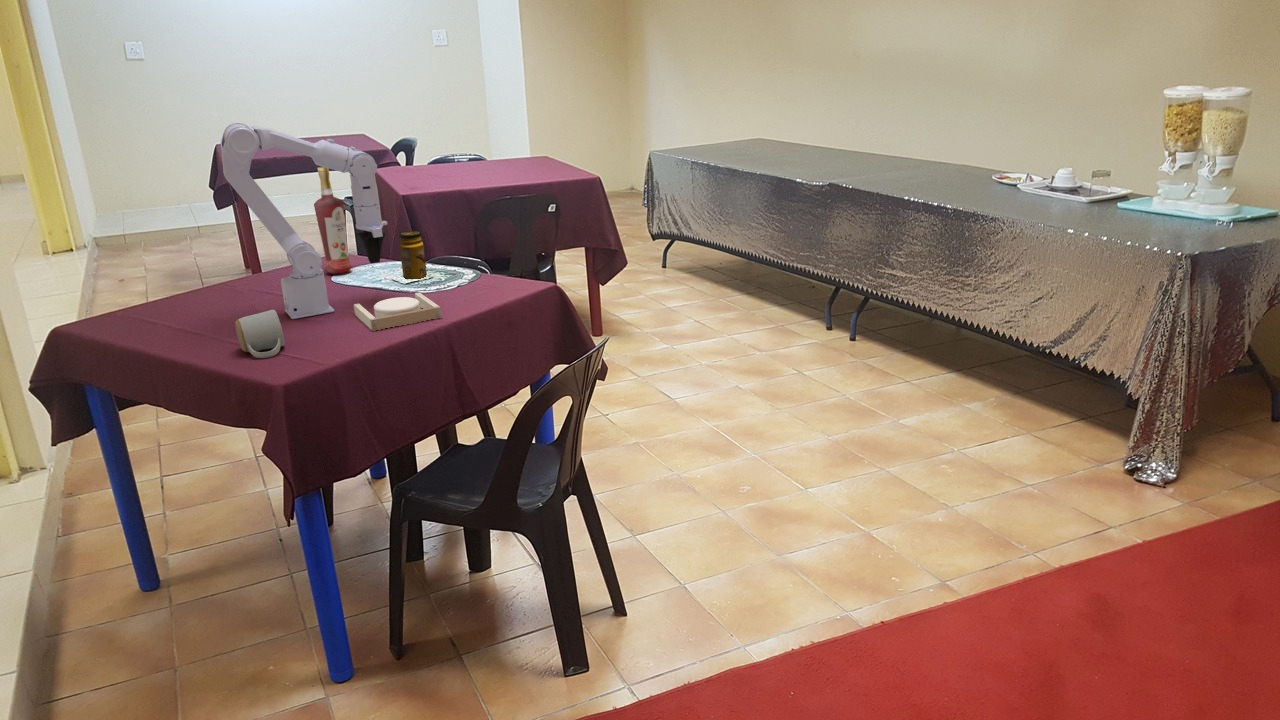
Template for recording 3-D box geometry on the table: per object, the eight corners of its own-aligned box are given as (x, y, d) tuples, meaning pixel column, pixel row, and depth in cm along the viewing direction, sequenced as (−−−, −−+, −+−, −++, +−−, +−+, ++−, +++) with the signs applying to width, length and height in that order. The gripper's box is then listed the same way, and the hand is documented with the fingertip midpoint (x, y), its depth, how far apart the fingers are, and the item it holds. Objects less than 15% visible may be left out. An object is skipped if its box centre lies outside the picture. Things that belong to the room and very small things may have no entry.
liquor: (338, 277, 236) (321, 170, 227) (319, 274, 240) (301, 168, 230) (359, 271, 242) (343, 166, 232) (340, 268, 246) (324, 164, 236)
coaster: (368, 324, 198) (366, 309, 196) (385, 311, 207) (383, 296, 206) (412, 324, 197) (410, 309, 195) (427, 311, 206) (425, 296, 205)
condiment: (434, 278, 233) (428, 232, 228) (405, 285, 227) (398, 238, 223) (419, 273, 238) (413, 228, 233) (390, 280, 232) (384, 234, 228)
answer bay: (373, 331, 192) (371, 320, 191) (355, 314, 204) (353, 304, 203) (442, 318, 199) (440, 307, 199) (420, 302, 211) (419, 292, 210)
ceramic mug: (238, 348, 185) (231, 312, 182) (280, 340, 189) (273, 305, 186) (247, 363, 177) (240, 326, 174) (290, 354, 181) (284, 318, 178)
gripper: (392, 207, 202) (400, 265, 207) (375, 198, 214) (383, 253, 219) (360, 211, 199) (369, 270, 204) (345, 201, 211) (354, 258, 216)
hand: (374, 262), depth 211 cm, fingers closed
